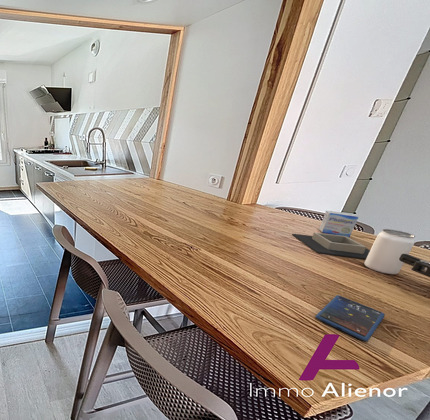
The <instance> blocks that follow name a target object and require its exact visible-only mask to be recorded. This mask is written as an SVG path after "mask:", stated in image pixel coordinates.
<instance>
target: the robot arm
mask: <svg viewBox="0 0 430 420" xmlns="http://www.w3.org/2000/svg"><path fill="white" fill-rule="evenodd" d="M399 260H400V261H401V262H404V264H407V265H409V266H412V267H411V269H410V270H411V271H413V272H415V273H418V274H420V275H423V276H425V277H428V278H430V261H428V260H424V259H421V258H419V257H417V256H413V255H411V254H409V255H408V254H401V256H400V258H399Z"/></svg>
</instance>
